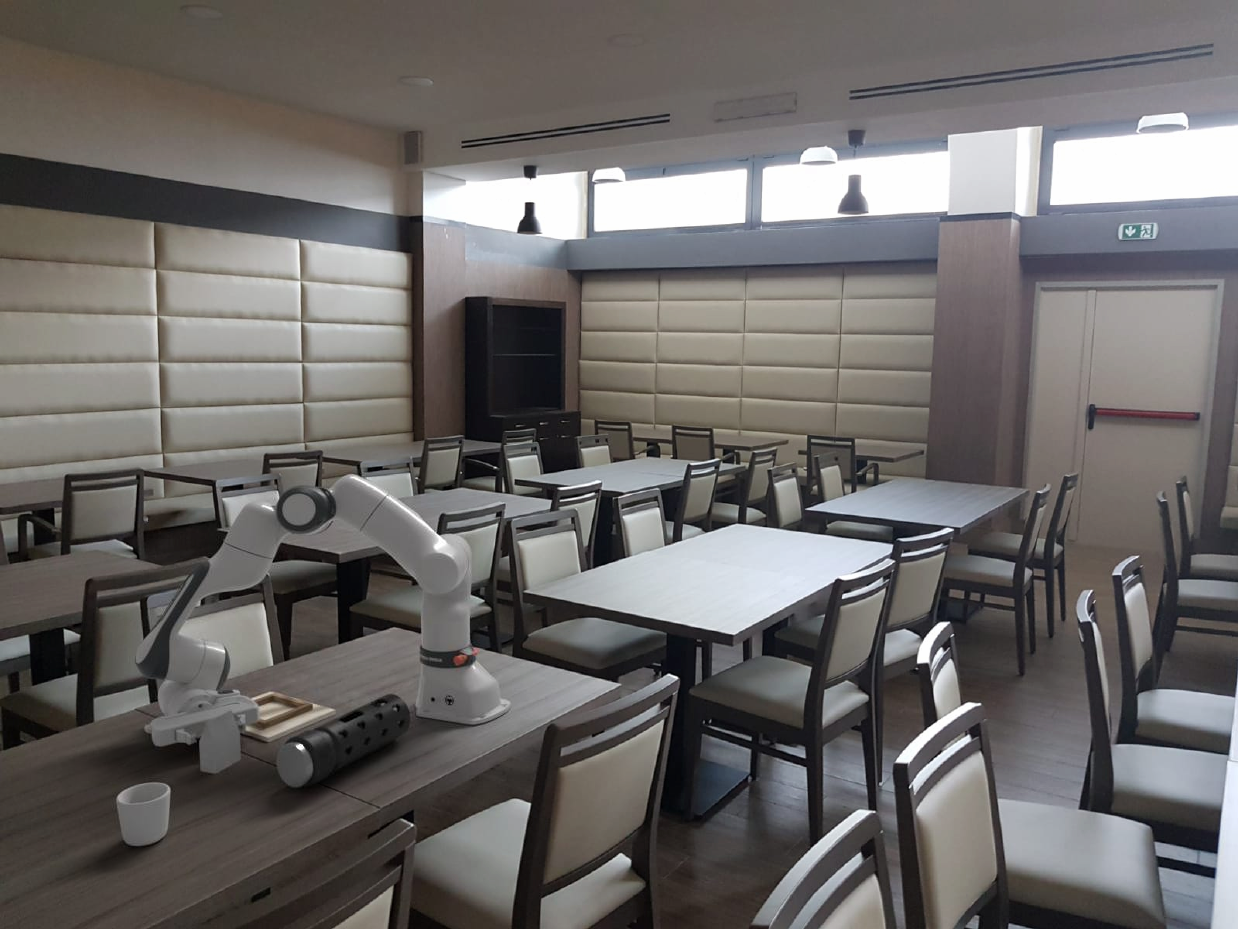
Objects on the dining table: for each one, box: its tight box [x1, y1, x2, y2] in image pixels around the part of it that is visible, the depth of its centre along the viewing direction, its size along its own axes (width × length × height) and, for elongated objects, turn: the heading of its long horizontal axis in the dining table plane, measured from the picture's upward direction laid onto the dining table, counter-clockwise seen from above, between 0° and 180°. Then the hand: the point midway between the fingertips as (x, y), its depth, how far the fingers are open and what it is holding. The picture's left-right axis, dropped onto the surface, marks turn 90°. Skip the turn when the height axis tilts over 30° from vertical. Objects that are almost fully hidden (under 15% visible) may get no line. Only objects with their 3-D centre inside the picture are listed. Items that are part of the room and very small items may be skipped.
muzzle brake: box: [275, 693, 411, 789], centre depth 179 cm, size 10×28×10 cm, turn 153°
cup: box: [115, 782, 171, 847], centre depth 152 cm, size 11×8×8 cm
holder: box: [240, 691, 337, 743], centre depth 203 cm, size 22×18×2 cm
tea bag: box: [198, 710, 242, 774], centre depth 178 cm, size 4×7×10 cm, turn 161°
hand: (217, 733), depth 179 cm, fingers open, 8 cm apart
